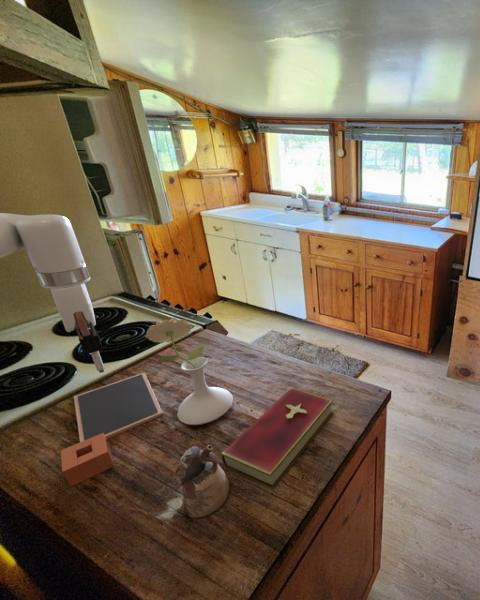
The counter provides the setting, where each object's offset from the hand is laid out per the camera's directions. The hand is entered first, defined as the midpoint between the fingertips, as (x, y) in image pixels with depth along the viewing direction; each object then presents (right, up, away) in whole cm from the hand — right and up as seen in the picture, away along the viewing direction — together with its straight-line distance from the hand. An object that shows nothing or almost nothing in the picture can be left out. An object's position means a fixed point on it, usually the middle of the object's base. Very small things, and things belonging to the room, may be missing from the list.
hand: (93, 349), depth 76 cm
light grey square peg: (0, -6, +3) cm, 7 cm away
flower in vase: (+25, -15, +1) cm, 29 cm away
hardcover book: (+46, -19, -5) cm, 50 cm away
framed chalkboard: (+5, -14, +1) cm, 15 cm away
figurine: (+37, -24, -17) cm, 48 cm away
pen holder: (+12, -21, -13) cm, 27 cm away
